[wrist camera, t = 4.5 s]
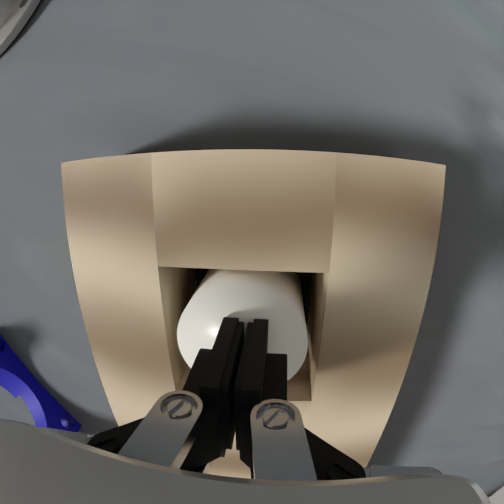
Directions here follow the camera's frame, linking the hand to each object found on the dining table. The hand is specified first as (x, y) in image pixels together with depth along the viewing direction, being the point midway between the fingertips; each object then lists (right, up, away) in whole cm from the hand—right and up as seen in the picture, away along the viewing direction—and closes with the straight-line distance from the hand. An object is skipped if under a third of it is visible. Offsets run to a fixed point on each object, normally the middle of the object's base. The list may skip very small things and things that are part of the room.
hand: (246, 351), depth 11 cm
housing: (0, -6, +7) cm, 9 cm away
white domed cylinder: (0, +2, +5) cm, 5 cm away
